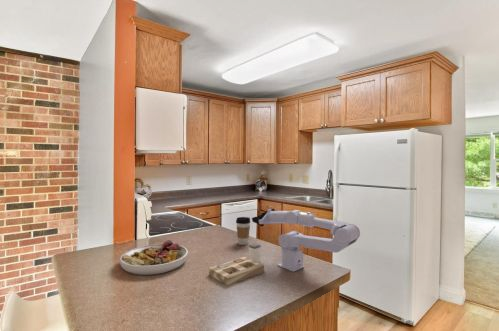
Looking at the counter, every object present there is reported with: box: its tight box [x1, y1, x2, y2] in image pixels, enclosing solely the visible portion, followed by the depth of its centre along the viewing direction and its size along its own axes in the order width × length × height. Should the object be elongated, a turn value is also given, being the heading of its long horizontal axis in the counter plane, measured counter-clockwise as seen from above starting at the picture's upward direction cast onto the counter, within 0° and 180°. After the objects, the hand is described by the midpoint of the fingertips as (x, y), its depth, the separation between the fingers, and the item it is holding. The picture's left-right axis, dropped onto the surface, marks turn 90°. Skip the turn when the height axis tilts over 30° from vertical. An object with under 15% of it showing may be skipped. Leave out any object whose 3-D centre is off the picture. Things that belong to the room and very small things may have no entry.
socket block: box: [208, 256, 265, 286], centre depth 119 cm, size 13×20×3 cm, turn 132°
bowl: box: [119, 239, 189, 276], centre depth 130 cm, size 30×30×8 cm
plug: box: [248, 242, 262, 263], centre depth 133 cm, size 4×4×8 cm
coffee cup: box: [235, 216, 251, 246], centre depth 161 cm, size 8×8×15 cm
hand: (257, 217), depth 140 cm, fingers open, 7 cm apart
